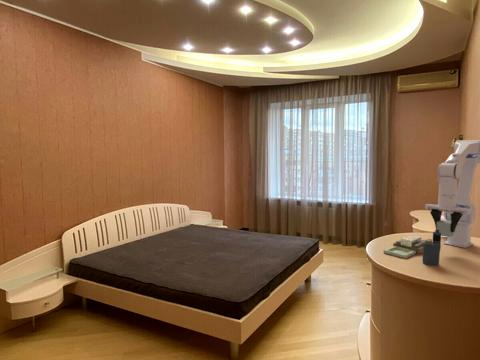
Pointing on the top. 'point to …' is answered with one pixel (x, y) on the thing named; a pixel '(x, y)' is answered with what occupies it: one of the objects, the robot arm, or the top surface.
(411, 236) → the chip
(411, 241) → the chip
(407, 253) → the chip tray
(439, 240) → the vaping device
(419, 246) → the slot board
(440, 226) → the sage green cube
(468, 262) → the top surface
